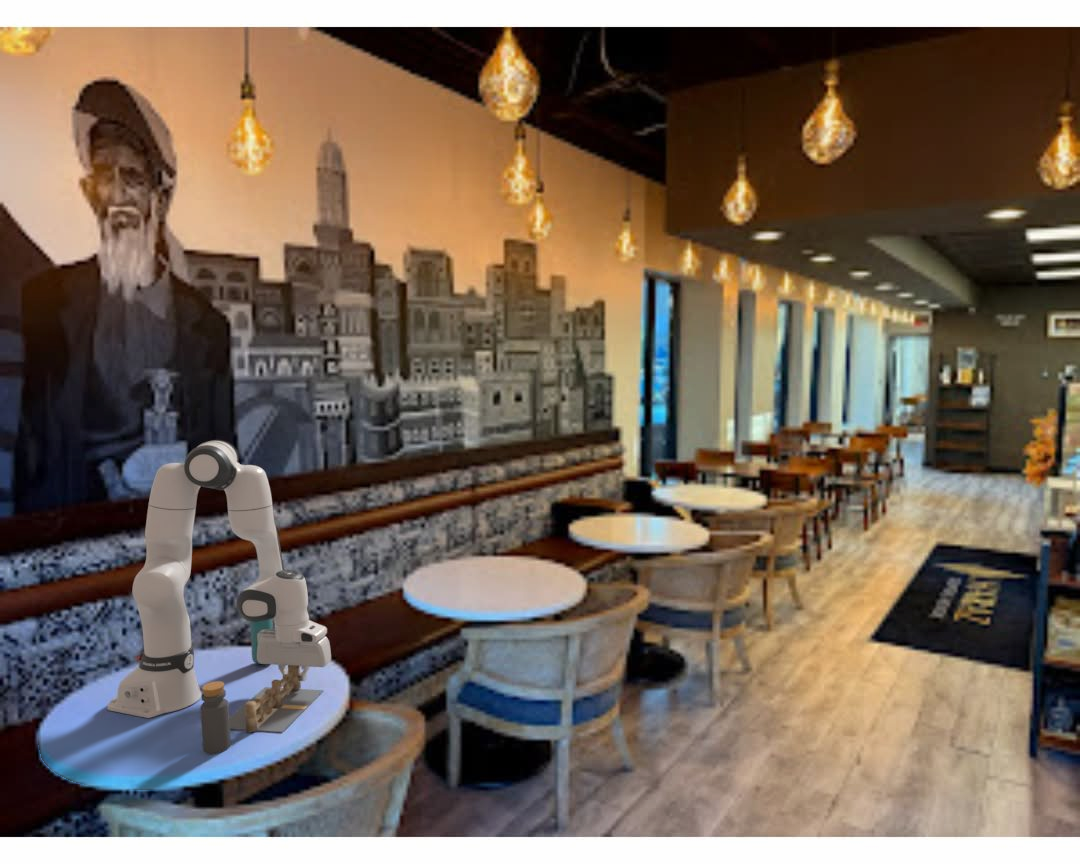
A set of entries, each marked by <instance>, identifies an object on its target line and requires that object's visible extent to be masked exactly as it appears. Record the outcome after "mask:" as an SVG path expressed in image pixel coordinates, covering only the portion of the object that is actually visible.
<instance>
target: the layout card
mask: <svg viewBox="0 0 1080 864" xmlns="http://www.w3.org/2000/svg"><path fill="white" fill-rule="evenodd" d="M271 688H272V686H271V687H270V686H269V687H268V686H265V687H264V688H263V689H261V690H260V691H259V692H258V693H257V694H255V695H254V696H253V697H252V698H250V699H249V700H248V701H247V702H249V701H255V702H256V698H257V697H258V696H261V697H262V696H263V695H264V694H265V690H267V689H271ZM282 690H283V687H281V688H280V692H281V691H282ZM322 693H324V690H323V689H305V688H300V689H297V690H291V691H289V695H288V696H284V697H283V698H282V699H281V707H279V708H273V707H272V712H271V713H270V714H264V715H263V716H264V720H263V721H262V722H257V730H256V731H255V732H264V733H278V734H283V733H285V731H286V730H288V728H289V727H290V726H291V725H292V724H293V723H294V722H295V721H296V720H297V719H298V718H299V717H300V716H301V715H302V714H303V713H304V712H305V710H307V709H308V708H309V706H311V705H312V704H314V702H315V701H316V699H318V698H319V696H321V695H322ZM272 699H273V698H272V696H271V700H272ZM264 706H265V702H264V703H263V707H264ZM256 713H257V710H256ZM229 724H230V731H232V730H233V731H234V730H235V731H246V715H245V704H244V705H242V706H241V707H240V708H239V709H237V710H236V711H235V712H234V713H233V714H232V715H230V716H229Z"/></svg>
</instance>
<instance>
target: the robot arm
mask: <svg viewBox="0 0 1080 864" xmlns="http://www.w3.org/2000/svg"><path fill="white" fill-rule="evenodd" d="M239 461H240V456H239V453H238V450H237V448H236V447H235V446H234V445H233V444H231V443H230V442H229V441H227V440H222V439H212V440H209V441H205V442H202V443H201V444H199V445H198V446H196V447H194V448H193V449H192V450H191V451H189V453H188V454H187V455H186V457H185V460H184V462H170V463H166V464H163V465H162V466H161V467H159V468H158V470H157V471H156V474H155V475H154V479H153V482H152V485H151V490H150V494H149V501H148V504H147V505H148V506H147V507H148V508H147V513H146V523H145V529H144V536H145V542H146V543H145V545H146V546H145V547H146V558H145V563H144V565H143V567H142V568H141V569H140V571H138V572H137V574H136V576H135V577H134V579H133V583H132V591H131V592H132V593H131V594H132V596H133V599H134V600H135V602H136V607H137V610H138V615H139V617H140V622H141V625H142V626H141V628H142V638H143V639H142V640H143V648H144V649H143V650H144V651H142V652H140V654H139V655H137V656H134V659H135V660H134V661H135V662H138V661H140V662H139V664H138V666H137V667H136V668H135V669H133V670H132V671H131V672H130V673H128V674H127V675H126V676H125V677H124V678H123V679H122V680H120V683H119V685H118V687H117V695H116V696H115V697H114V698H112V699H111V700H110V701H109V703H108V704H107V708H106V709H107V710H108V711H112V712H117V713H121V714H124V715H125V714H127V715H131V716H136V717H141V718H144V719H145V718H147V719H150V718H154V717H157V716H159V715H162V714H167V713H171V712H176V711H179V710H182V709H184V708H188V707H189V706H191V705H193V704H195V703H197V701H199V700H200V699H201V698H202V697H201V696H202V694H203V692H202V691H201V689H200V687H199V684H198V680H197V676H196V671H195V667H194V666H195V652H194V644H193V643H192V636H191V635H192V634H191V623H190V622H191V621H190V615H189V613H188V609H187V606H186V602H185V596H184V592H185V591H184V590H185V586H186V584H187V583H188V581H189V579H190V576H191V573H192V572H191V570H192V560H193V559H192V558H193V556H192V555H193V532H194V525H195V518H196V517H195V516H196V510H197V509H196V508H197V500H198V494H199V491H200V488H201V487H202V488H209V489H213V490H218V491H224V492H225V496H226V502H227V504H226V505H227V514H228V515H227V516H228V522H229V526H230V529H231V531H232V533H233V534H234V535H236V536H237V537H239V538H240V539H242V540H245V541H249V542H250V543H252V544H253V546H254V547H255V551H256V556H257V561H258V567H259V576H258V579H257V581H255V582H254V583H252V584H251V585H249V586H248V587H246V588H245V589H243V591H242V592H240V594H239V595H238V596H237V598H236V610H237V612H238V614H239V615H240V617H241V618H243V619H244V620H245V621H248V622H249V623H250V622H259V621H265V620H269V619H272V620H273V624H274V628H273V629H270V630H268V629H262V630H261V631H259V632H258V634H257V641H258V646H257V660H258V662H259V663H258V664H262V665H275V666H276V665H277V667H278V670H279V671H280V674H282V677H283V676H284V675H287V674H288V667H286V666H288V665H292V666H300V667H301V670H302V672H301V671H300V674H299V675H298V678H299V679H298V680H299V681H300V682H305V681H306V680H307V674H308V671H309V669H310V668H311V667H312V668H325V667H326V666H328V664H329V663H330V662H331V660H332V653H331V652H332V651H331V645H330V644H331V643H330V640H329V639H328V637H327V636H326V635H327V634H328V628H327V627H326V626H325V625H323V624H320V623H317V622H314V621H312V620H310V616H309V613H308V605H309V597H308V596H309V594H308V587H307V581H306V578H305V577H304V575H303V573H301V572H299V571H297V570H292V569H285V566H284V563H283V561H284V560H283V556H282V550H281V548H282V547H281V544H280V538H279V533H278V530H277V527H276V523H275V517H274V510H273V509H274V508H273V507H274V506H273V498H272V491H271V486H270V483H269V479H268V476H267V473H266V471H265V470H264V469H263V468H262V467H260V466H258V465H255V464H254V465H253V464H240V462H239ZM261 632H262V633H261Z"/></svg>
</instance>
